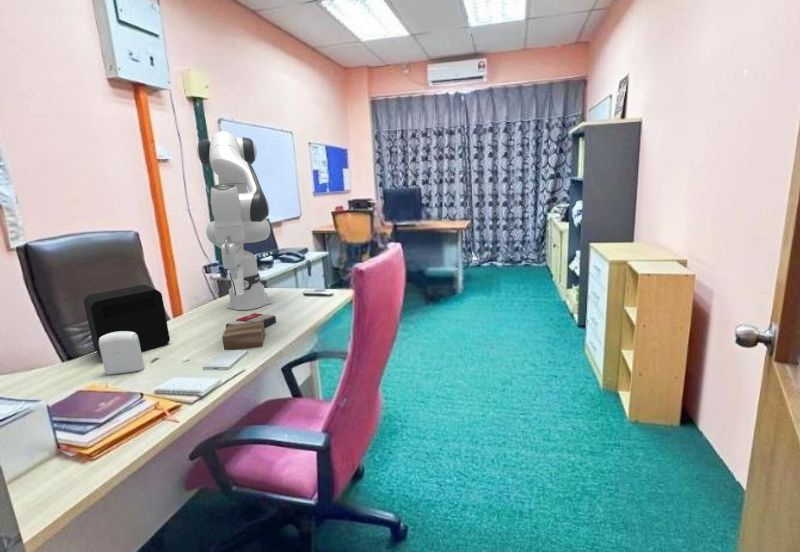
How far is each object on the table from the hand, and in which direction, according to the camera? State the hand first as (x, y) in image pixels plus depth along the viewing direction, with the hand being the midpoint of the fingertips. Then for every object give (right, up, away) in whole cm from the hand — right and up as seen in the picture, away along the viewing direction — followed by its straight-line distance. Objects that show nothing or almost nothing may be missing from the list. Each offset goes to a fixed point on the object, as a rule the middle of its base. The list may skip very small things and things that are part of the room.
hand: (236, 277), depth 142 cm
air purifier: (-38, -25, +6) cm, 45 cm away
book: (-2, -20, +20) cm, 28 cm away
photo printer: (-28, -28, -13) cm, 42 cm away
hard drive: (+1, -26, -10) cm, 28 cm away
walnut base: (+1, -22, +5) cm, 23 cm away
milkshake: (0, -6, +2) cm, 6 cm away
